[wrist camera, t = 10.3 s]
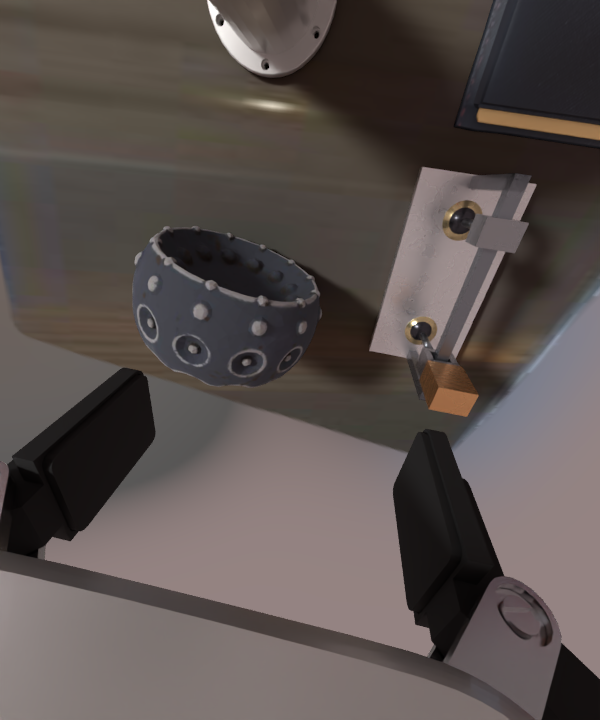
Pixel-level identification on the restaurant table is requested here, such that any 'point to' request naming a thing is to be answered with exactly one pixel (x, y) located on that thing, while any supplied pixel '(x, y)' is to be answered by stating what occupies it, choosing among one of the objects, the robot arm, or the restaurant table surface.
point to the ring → (222, 307)
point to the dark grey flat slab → (537, 72)
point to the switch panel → (448, 260)
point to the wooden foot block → (444, 382)
